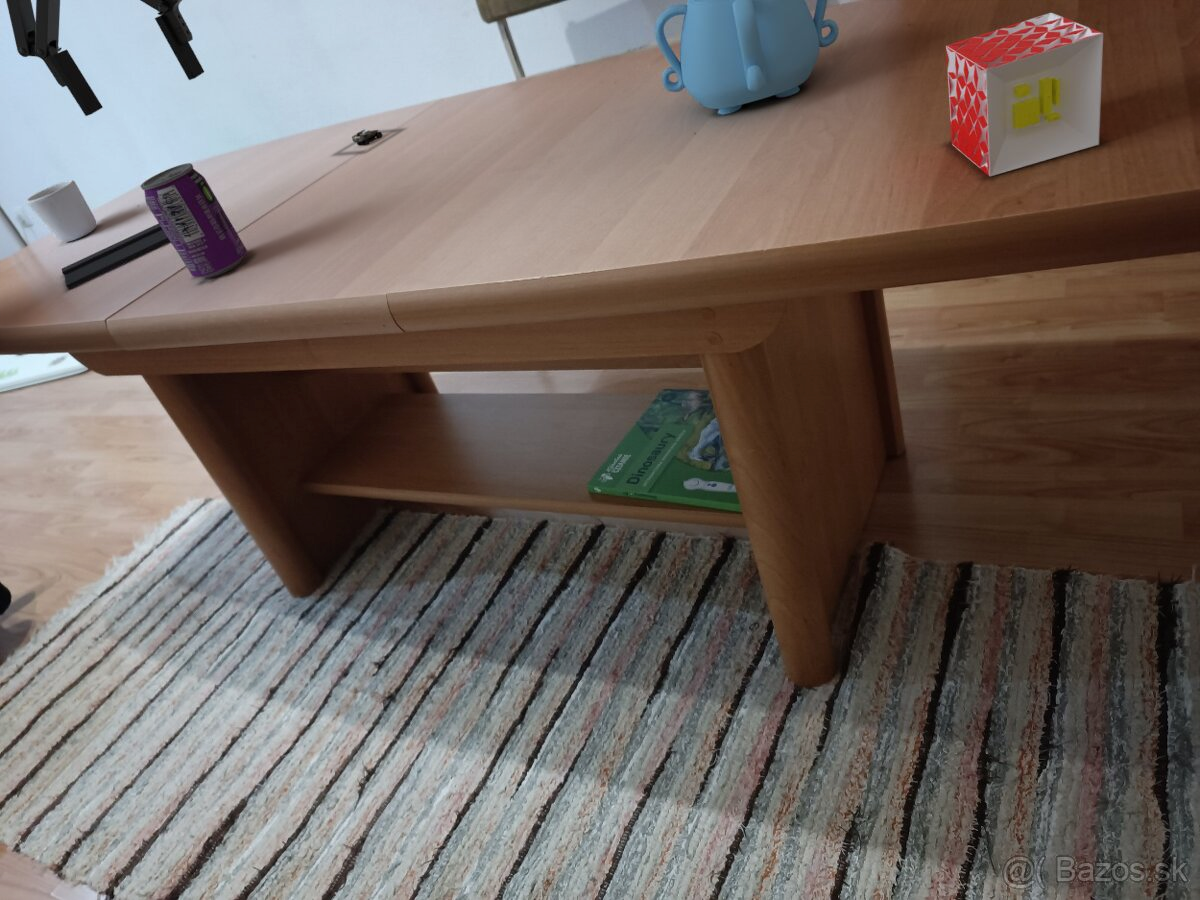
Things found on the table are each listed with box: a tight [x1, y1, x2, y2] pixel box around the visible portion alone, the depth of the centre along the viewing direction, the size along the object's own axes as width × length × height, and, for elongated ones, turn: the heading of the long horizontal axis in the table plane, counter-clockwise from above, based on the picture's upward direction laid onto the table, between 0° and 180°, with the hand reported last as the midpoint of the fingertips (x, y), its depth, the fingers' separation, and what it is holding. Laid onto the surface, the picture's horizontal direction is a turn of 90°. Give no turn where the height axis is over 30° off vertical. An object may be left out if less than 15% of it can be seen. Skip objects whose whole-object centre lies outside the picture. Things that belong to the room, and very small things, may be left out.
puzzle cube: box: [945, 12, 1104, 177], centre depth 66 cm, size 8×8×8 cm
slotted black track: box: [61, 222, 171, 291], centre depth 126 cm, size 20×10×1 cm, turn 122°
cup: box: [25, 179, 97, 243], centre depth 145 cm, size 11×8×8 cm
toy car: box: [351, 128, 383, 147], centre depth 136 cm, size 3×4×2 cm, turn 143°
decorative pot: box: [654, 0, 839, 115], centre depth 94 cm, size 16×16×14 cm
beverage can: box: [140, 162, 248, 279], centre depth 103 cm, size 7×7×12 cm
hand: (145, 94), depth 98 cm, fingers open, 13 cm apart
